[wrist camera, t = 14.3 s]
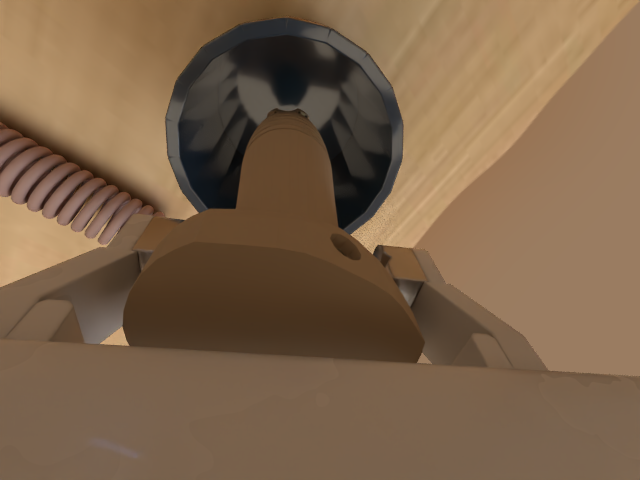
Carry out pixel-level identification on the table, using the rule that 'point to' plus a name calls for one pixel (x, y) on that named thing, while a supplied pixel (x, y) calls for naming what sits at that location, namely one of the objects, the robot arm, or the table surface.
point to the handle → (273, 267)
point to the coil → (62, 188)
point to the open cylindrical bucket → (285, 94)
